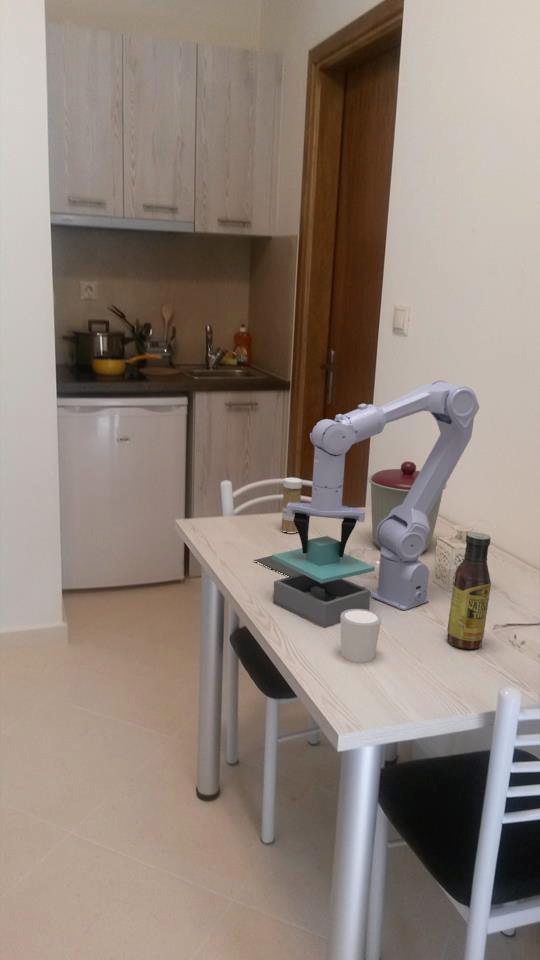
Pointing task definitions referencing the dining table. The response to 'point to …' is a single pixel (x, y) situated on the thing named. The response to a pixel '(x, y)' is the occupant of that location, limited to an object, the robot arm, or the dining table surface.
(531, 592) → the dining table surface
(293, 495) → the sprinkles bottle
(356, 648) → the white cup
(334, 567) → the lid
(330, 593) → the tub
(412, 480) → the canister
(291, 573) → the mat
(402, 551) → the robot arm
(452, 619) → the sauce bottle
